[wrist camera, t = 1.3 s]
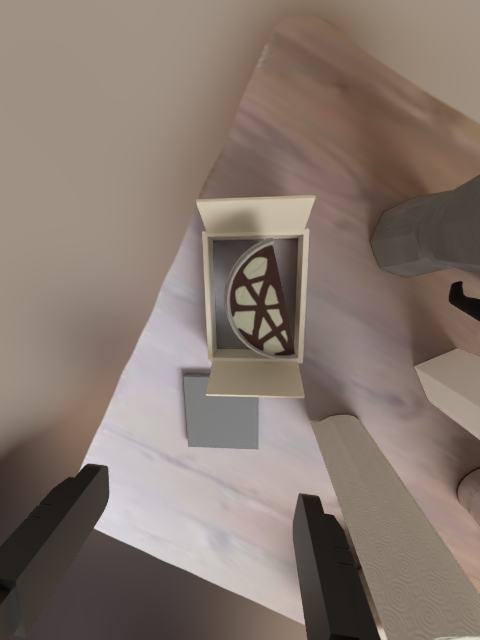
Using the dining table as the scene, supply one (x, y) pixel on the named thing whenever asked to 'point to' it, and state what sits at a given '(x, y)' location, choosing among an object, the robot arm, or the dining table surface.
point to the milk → (454, 386)
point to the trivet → (219, 417)
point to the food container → (259, 303)
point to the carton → (221, 224)
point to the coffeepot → (433, 238)
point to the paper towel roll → (396, 541)
